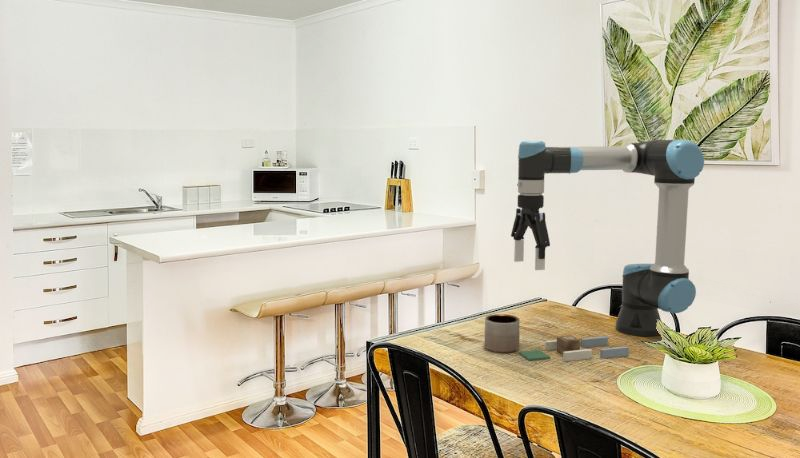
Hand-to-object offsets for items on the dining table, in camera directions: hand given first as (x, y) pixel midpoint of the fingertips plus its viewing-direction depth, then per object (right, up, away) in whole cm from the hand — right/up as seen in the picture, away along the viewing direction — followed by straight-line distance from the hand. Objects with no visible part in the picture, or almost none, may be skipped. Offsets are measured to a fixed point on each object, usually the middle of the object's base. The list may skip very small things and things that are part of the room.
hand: (528, 265), depth 195 cm
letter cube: (+13, -27, +6) cm, 31 cm away
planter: (-6, -27, +12) cm, 30 cm away
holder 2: (+25, -27, +8) cm, 38 cm away
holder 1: (+13, -27, +6) cm, 31 cm away
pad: (+2, -28, +4) cm, 28 cm away
